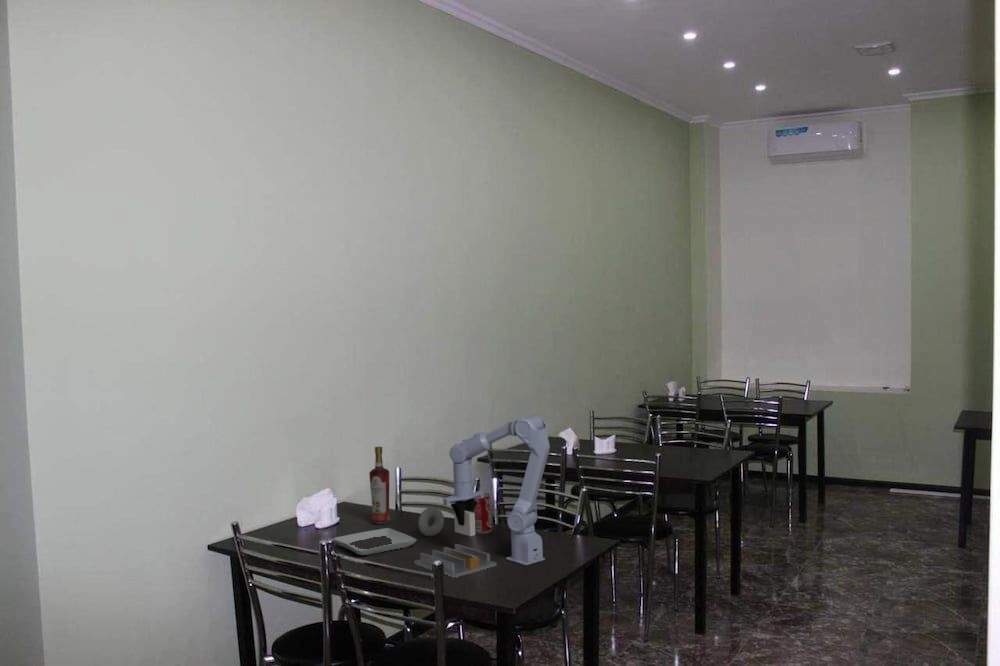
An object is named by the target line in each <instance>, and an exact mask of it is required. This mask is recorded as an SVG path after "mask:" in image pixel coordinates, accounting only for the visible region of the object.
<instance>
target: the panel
mask: <svg viewBox="0 0 1000 666" xmlns="http://www.w3.org/2000/svg"><path fill="white" fill-rule="evenodd" d="M453 514H454V515H453V516H454V517H453V518H454V532H455V533H458V534H461V535H465V536H467V537H468V536H469V537H474V536H476V534H475V513H473V512H469V511H466V510H465V514H464V521H465V522H464V525H463V526H462V525H459V524H458V520H457V517H456V514H455V512H454V511H453Z"/></svg>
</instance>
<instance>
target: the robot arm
mask: <svg viewBox="0 0 1000 666" xmlns="http://www.w3.org/2000/svg"><path fill="white" fill-rule="evenodd" d="M547 430H548V425H547V423H546V422H545V420H544V419H543V418H542V417H541V416H540V415H539V414H531V415H529V416H527V417H522V418H519V419H516V420H512V421H509V422H507V423H505V424H504V425H502V426H499V427H498V428H496V429H495V430H492V431H491V432H489V433H486V432H475V433H474V434H473V436H472V437H469V438H468V439H467V438H465V439H463V440H462V442H461V443H457V444H456V443H455V444H454V445H453V446H451V448H450V450H449V457H450V459H451V461H452V463H453V464H452V467H453V469H452V470H453V492H454V493H453V495H451V496H448V497H444V498H443V500H442V501H443V503H442V505H443V506H450V507H451V508H452V510H453V513H454V512H455V514H456V517H457V520H458V524H459V525H462V526H463V525H464V522H465V521H464V514H465V510H466V511H469V512H473V511H474V509H475V507H476V505H477V501H475V500H474V499H478V498H484V495H483V493H484V491H480V490H479V491H473V475H472V474H473V472H472V471H473V470H472V460H473V458H474V457H476V456H478V455H480V454H483V453H484V452H486V451H489V450H490V449H491V447H492V444H493V443H495V442H498V441H500V440H502V439H504V438H506V437H508V436H511V437H516V436H517V438H519V439H520V440H521V441H522V442H524V444H526V445H527V446H528V448H529V449H530V453H529V457H528V462H527V466H526V469H525V474H524V476H523V477H524V478H523V480H522V484H521V489H520V492H519V496H518V498H517V501H516V502H515V504H514V506H513V508H512V510H511V512H510V513H509V514H508V516H507V518H506V519H507V520H506V523H507V527H508V529H509V530H510V539H511V555H510V556H507V557H505V559H506V560H507V561H510V562H515V563H518V564H520V565H524V566H529V565H532V564H535V563H538V562H542V561H545V560H546V558H545V557H543V556H544V555H543V554H544V552H543V550H544V549H543V548H544V547H543V538H542V536H541V535H539V534H538V533H537V532H536V530H535V524H536V522H537V520H538V513H537V512H538V510H537V509H538V504H537V503H536V501H537V497H538V494H539V490H540V486H541V482H542V478H543V474H544V472H545V467H546V465H547V459H548V457H549V453H550V448H551V447H550V441H549V436H548V431H547Z"/></svg>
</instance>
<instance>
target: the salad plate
mask: <svg viewBox="0 0 1000 666" xmlns="http://www.w3.org/2000/svg"><path fill="white" fill-rule="evenodd" d="M381 536H386V537H387V538H390V539H391V540H392V541H391V542H392V544H388V545H383V546H379V547H374V548H370V549H362V548H361V549H360V548H359V549H358V547H355V545H350V543H352V542H355V541H359V540H365V539H369V538H373V537H381ZM332 540H333V542H334V543H336V544H337V545H339V546H340V547H343V548H345V549H347V550H349V551H351V552H353V553H355V554H357V555H359V556H363V555H368V556H370V555H369V554H373V553H379V552H384V551H388V552H390V551H389V550H393V551H395V550H394V549H398V550H401V549H400V548H402V549H406V548H409V547H410V546H413V544H415V543H416V542H417V538H415V537H413V536H410V535H408V534H406V533H403V532H400V531H398V530H395V529H393V528H389V527H385V528H380V529H372V530H367V531H362V532H356V533H352V534H347V535H341V536H336V537H333V538H332ZM384 553H385V552H384ZM379 554H380V553H379Z"/></svg>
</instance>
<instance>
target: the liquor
mask: <svg viewBox="0 0 1000 666" xmlns="http://www.w3.org/2000/svg"><path fill="white" fill-rule="evenodd" d="M374 454H375V462H374V464H375V465H374V468H373V469H371V470H370V471H369V482H370V485H369V486H370V487H369V488H370V495H371V507H372V519H371V521H372V522H373V521H375V522H386V521H389V520H390V521H391V517H390V470H388V469H387V468H385V467H384V463H383V446H375V447H374ZM390 521H389V522H390Z"/></svg>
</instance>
